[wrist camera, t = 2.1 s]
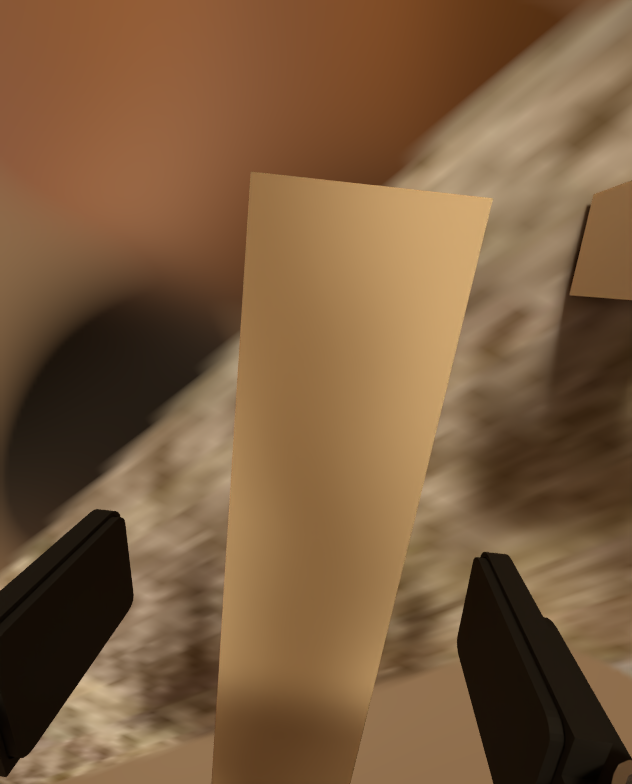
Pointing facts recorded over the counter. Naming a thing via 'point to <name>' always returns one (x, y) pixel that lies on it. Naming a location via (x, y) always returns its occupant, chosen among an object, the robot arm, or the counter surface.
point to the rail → (330, 456)
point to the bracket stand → (606, 247)
